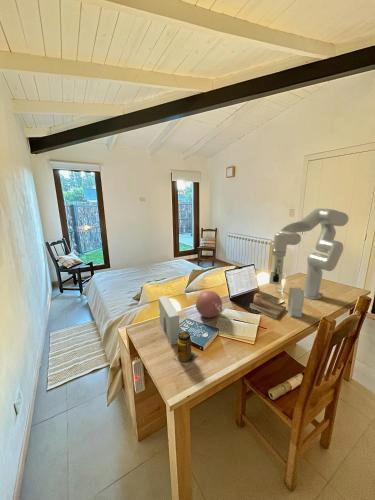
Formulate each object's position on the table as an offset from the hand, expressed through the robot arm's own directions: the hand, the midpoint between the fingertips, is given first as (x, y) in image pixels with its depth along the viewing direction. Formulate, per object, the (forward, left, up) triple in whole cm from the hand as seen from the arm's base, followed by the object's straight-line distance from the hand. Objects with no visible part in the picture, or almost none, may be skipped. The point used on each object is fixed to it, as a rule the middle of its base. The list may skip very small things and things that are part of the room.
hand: (275, 280), depth 134 cm
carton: (0, 0, -2) cm, 2 cm away
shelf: (+6, 0, -18) cm, 19 cm away
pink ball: (+40, -19, -18) cm, 48 cm away
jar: (+9, -6, -16) cm, 19 cm away
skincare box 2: (0, +13, -18) cm, 23 cm away
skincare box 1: (+66, -26, -18) cm, 74 cm away
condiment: (+72, -7, -18) cm, 75 cm away
